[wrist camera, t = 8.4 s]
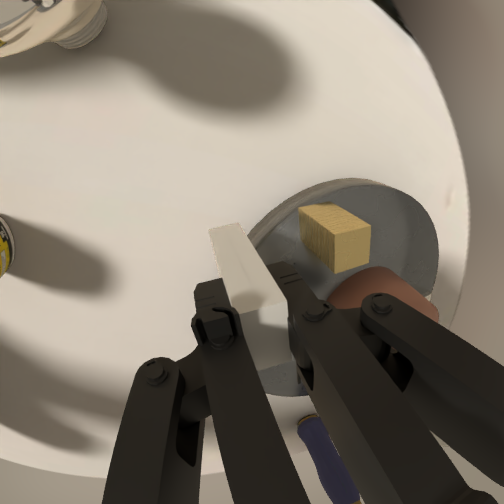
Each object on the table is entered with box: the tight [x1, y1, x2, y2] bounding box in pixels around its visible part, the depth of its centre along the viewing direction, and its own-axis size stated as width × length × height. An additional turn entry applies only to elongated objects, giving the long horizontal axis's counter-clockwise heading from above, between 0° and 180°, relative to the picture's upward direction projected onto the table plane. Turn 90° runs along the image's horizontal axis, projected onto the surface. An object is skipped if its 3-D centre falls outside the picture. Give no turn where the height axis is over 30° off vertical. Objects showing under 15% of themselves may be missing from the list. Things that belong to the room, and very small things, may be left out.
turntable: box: [247, 178, 439, 397], centre depth 19 cm, size 20×20×6 cm
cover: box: [326, 266, 439, 350], centre depth 18 cm, size 8×8×6 cm
